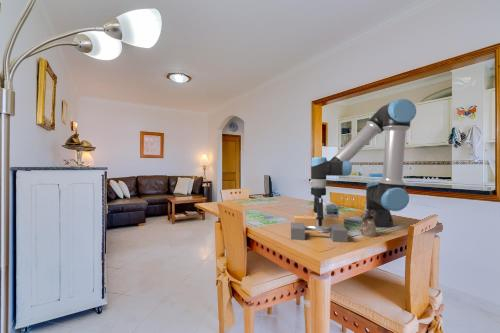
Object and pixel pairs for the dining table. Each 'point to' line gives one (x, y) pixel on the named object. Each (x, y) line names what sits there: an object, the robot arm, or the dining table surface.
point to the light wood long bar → (313, 221)
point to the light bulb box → (330, 209)
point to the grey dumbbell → (335, 230)
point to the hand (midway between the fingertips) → (317, 228)
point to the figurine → (367, 224)
